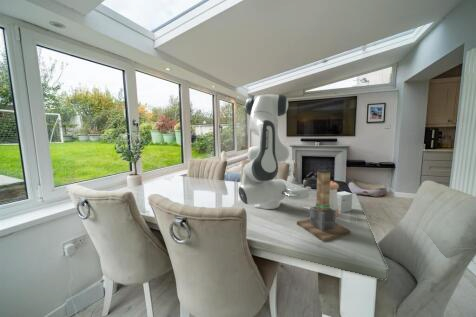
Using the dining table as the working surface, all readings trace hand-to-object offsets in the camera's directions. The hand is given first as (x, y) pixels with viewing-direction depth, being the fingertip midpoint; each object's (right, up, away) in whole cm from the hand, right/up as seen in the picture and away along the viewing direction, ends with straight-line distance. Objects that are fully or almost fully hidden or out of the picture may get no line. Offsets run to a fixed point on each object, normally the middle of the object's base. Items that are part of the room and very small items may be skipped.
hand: (302, 185), depth 89 cm
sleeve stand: (+12, -22, +8) cm, 26 cm away
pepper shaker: (+24, -19, +24) cm, 39 cm away
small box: (+33, -18, +28) cm, 47 cm away
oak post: (+12, -14, +6) cm, 19 cm away
